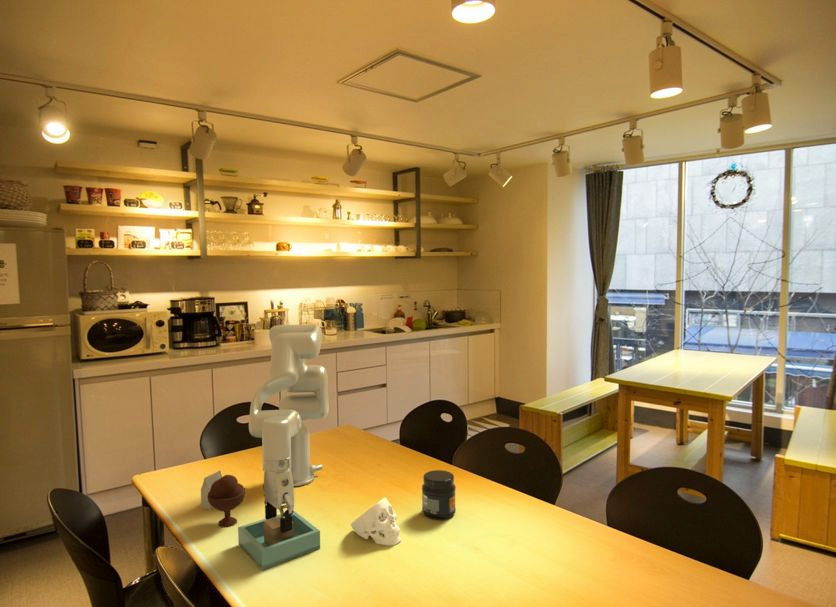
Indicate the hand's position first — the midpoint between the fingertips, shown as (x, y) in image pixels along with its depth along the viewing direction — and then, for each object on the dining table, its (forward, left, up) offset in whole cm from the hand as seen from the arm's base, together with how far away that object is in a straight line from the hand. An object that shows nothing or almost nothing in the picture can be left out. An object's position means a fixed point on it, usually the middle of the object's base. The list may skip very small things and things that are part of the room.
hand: (278, 524), depth 144 cm
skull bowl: (-24, +12, -7) cm, 28 cm away
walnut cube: (0, 0, -5) cm, 5 cm away
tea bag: (+5, -39, -7) cm, 40 cm away
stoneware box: (0, 0, -6) cm, 6 cm away
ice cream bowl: (+6, -23, -6) cm, 25 cm away
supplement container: (-47, +13, -7) cm, 49 cm away
